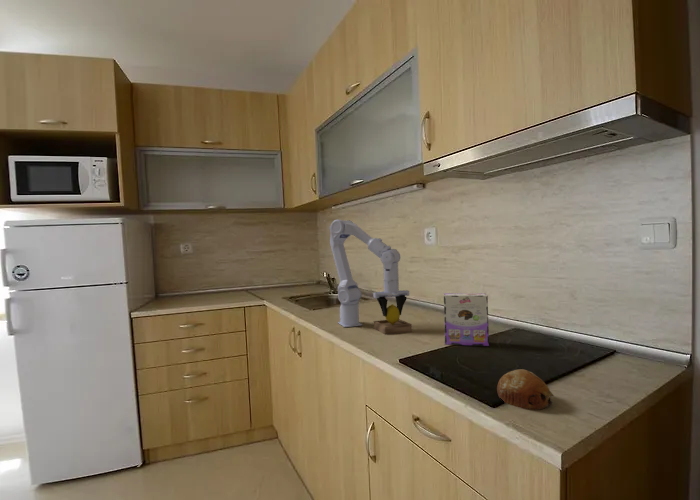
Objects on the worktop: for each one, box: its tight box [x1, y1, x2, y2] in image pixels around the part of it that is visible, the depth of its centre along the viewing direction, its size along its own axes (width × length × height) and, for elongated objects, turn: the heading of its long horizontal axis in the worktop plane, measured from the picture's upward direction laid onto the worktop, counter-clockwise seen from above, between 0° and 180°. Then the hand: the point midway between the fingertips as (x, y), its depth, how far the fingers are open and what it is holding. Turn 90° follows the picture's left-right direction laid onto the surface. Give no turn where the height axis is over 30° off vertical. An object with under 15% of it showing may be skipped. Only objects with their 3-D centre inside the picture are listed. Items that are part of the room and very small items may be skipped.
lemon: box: [384, 304, 401, 325], centre depth 140 cm, size 6×6×8 cm
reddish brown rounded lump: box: [496, 368, 555, 411], centre depth 76 cm, size 10×10×8 cm
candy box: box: [443, 292, 490, 347], centre depth 119 cm, size 14×6×16 cm, turn 74°
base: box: [373, 318, 413, 335], centre depth 140 cm, size 11×11×3 cm
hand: (392, 315), depth 140 cm, fingers closed on lemon, 5 cm apart
